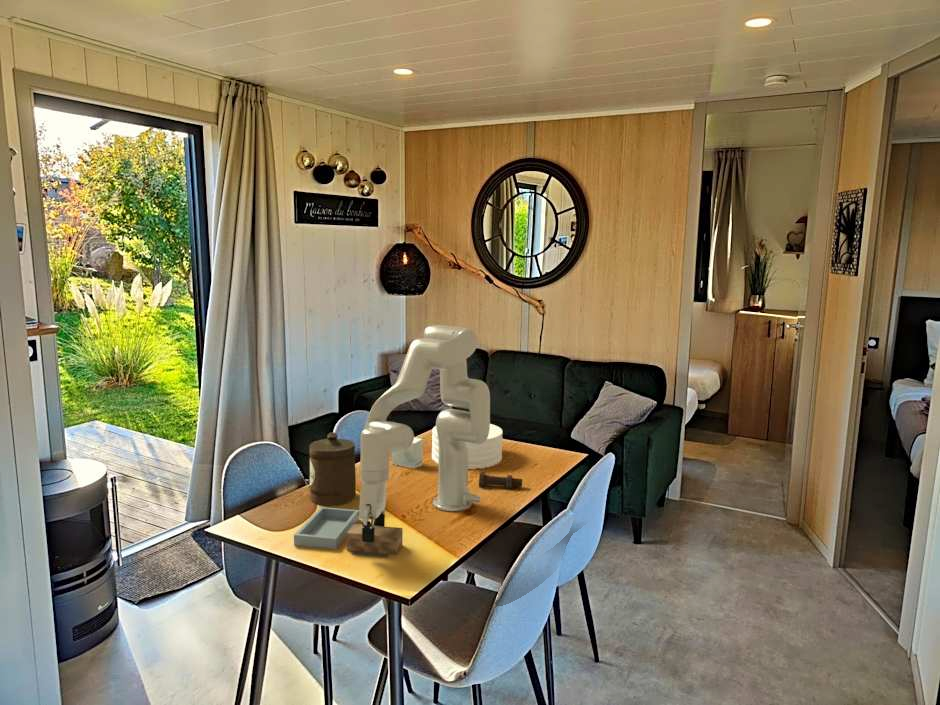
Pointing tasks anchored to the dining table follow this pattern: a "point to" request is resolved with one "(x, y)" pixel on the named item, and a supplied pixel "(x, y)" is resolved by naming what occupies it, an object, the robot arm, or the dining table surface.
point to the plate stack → (477, 449)
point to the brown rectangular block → (375, 540)
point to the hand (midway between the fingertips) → (373, 534)
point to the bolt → (499, 481)
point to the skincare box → (410, 455)
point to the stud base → (370, 554)
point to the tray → (326, 528)
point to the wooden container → (332, 471)
